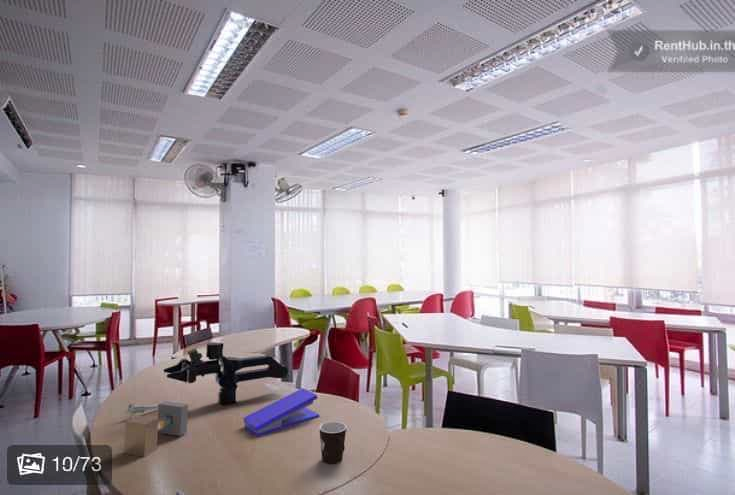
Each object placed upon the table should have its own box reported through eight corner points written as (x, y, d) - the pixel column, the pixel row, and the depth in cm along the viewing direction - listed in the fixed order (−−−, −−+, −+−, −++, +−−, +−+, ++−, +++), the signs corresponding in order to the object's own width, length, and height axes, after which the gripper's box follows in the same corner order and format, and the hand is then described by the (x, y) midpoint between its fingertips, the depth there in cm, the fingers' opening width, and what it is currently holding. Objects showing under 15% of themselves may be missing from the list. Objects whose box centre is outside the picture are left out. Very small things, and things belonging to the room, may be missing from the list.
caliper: (126, 422, 145) (127, 405, 146) (124, 421, 146) (125, 405, 146) (175, 405, 163) (176, 391, 163) (173, 405, 164) (174, 390, 164)
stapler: (320, 418, 153) (320, 393, 153) (256, 438, 134) (257, 410, 134) (304, 410, 161) (304, 386, 162) (242, 428, 142) (243, 401, 142)
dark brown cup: (319, 452, 123) (319, 421, 124) (345, 452, 124) (346, 421, 125) (317, 472, 112) (318, 437, 112) (346, 471, 112) (347, 437, 113)
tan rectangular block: (163, 431, 137) (164, 403, 137) (182, 434, 135) (183, 406, 135) (123, 453, 121) (125, 421, 121) (144, 456, 119) (145, 424, 119)
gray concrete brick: (163, 428, 138) (164, 401, 139) (186, 432, 136) (187, 404, 136) (157, 432, 135) (158, 403, 136) (180, 435, 133) (181, 407, 133)
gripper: (201, 345, 170) (163, 349, 161) (211, 353, 155) (169, 357, 146) (200, 370, 170) (161, 375, 161) (210, 380, 155) (168, 387, 146)
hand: (165, 373), depth 153 cm, fingers open, 9 cm apart
